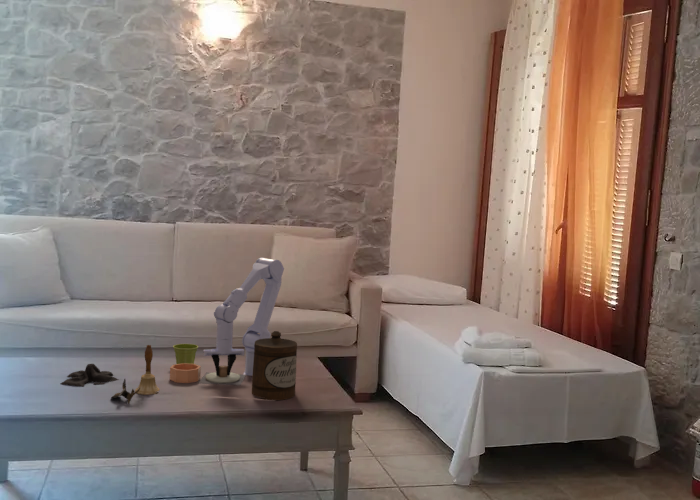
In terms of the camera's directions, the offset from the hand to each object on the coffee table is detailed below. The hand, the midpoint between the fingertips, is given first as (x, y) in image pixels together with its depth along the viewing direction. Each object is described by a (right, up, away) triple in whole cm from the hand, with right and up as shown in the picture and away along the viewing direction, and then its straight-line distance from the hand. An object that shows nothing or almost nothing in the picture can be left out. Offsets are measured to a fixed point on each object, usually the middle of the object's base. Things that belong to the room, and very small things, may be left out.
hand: (223, 374), depth 271 cm
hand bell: (-22, -3, -19) cm, 29 cm away
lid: (0, -1, 0) cm, 1 cm away
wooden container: (+20, -5, -14) cm, 25 cm away
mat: (0, -2, 0) cm, 2 cm away
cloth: (-44, -1, -7) cm, 45 cm away
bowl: (-13, -2, -3) cm, 13 cm away
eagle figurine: (-27, -3, -30) cm, 40 cm away
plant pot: (-17, 0, +14) cm, 22 cm away
